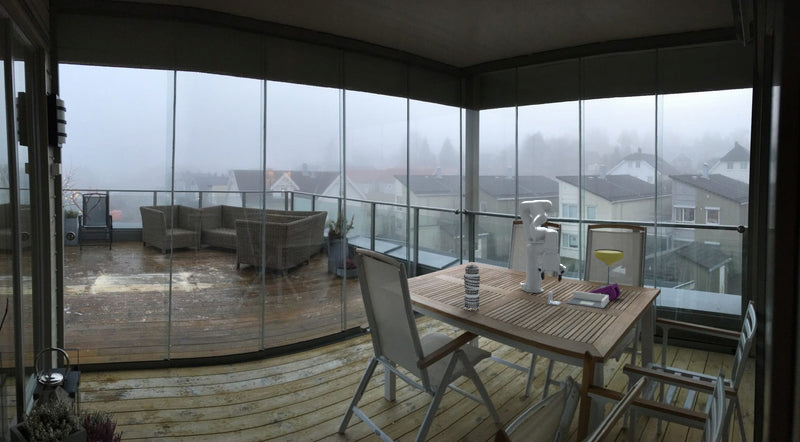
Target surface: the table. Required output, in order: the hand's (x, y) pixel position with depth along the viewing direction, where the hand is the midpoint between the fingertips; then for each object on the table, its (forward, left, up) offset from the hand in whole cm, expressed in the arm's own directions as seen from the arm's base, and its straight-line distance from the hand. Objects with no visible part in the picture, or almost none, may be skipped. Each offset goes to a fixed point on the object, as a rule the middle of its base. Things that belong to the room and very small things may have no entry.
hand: (551, 280), depth 271 cm
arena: (+18, +11, -14) cm, 25 cm away
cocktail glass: (+20, +59, -14) cm, 63 cm away
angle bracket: (+2, +1, -14) cm, 14 cm away
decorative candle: (-34, -36, -14) cm, 51 cm away
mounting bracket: (+22, +31, -14) cm, 40 cm away
